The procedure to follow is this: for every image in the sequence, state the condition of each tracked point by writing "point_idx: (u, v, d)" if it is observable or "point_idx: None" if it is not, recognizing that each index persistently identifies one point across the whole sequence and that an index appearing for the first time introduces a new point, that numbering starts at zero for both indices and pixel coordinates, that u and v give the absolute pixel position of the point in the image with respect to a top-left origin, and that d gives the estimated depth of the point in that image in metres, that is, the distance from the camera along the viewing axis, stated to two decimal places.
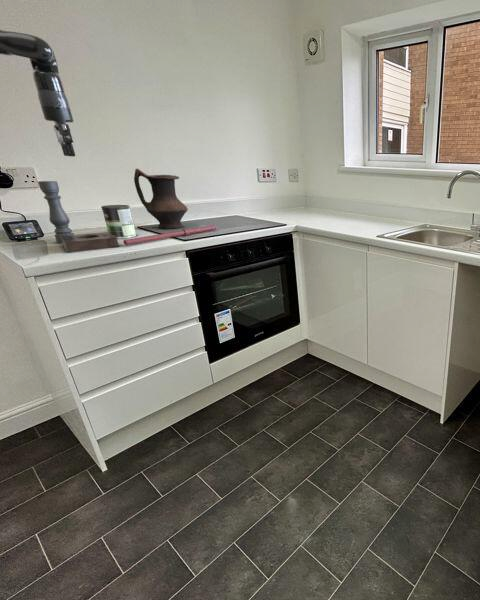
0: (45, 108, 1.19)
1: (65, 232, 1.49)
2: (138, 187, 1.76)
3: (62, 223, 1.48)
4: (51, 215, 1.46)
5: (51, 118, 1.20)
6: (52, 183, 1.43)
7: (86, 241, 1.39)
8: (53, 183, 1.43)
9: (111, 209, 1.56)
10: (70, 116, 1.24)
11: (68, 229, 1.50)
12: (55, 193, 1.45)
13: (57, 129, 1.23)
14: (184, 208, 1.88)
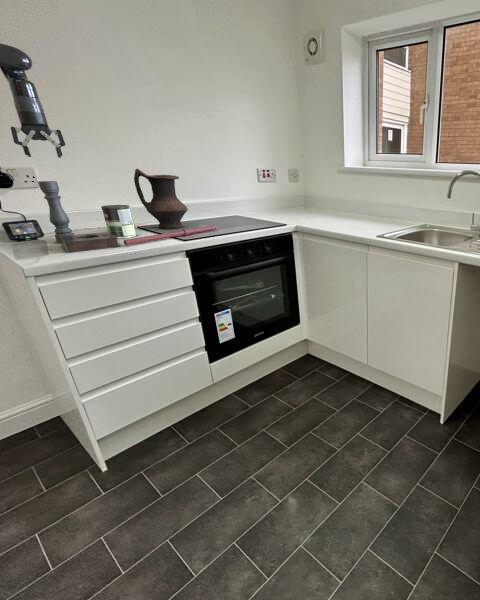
0: None
1: (65, 232, 1.49)
2: (138, 187, 1.76)
3: (62, 223, 1.48)
4: (51, 215, 1.46)
5: None
6: (52, 183, 1.43)
7: (86, 241, 1.39)
8: (53, 183, 1.43)
9: (111, 209, 1.56)
10: (25, 118, 1.30)
11: (68, 229, 1.50)
12: (55, 193, 1.45)
13: None
14: (184, 208, 1.88)
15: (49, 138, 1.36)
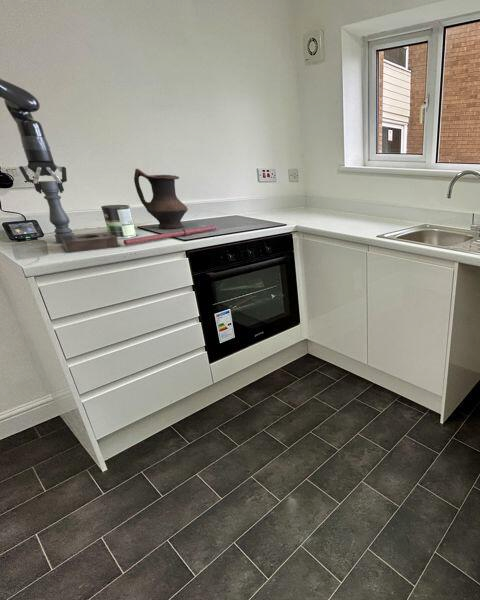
0: None
1: (65, 232, 1.49)
2: (138, 187, 1.76)
3: (62, 223, 1.48)
4: (51, 215, 1.46)
5: None
6: (52, 183, 1.43)
7: (86, 241, 1.39)
8: (53, 183, 1.43)
9: (111, 209, 1.56)
10: (32, 156, 1.36)
11: (68, 229, 1.50)
12: (55, 193, 1.45)
13: None
14: (184, 208, 1.88)
15: (54, 173, 1.43)
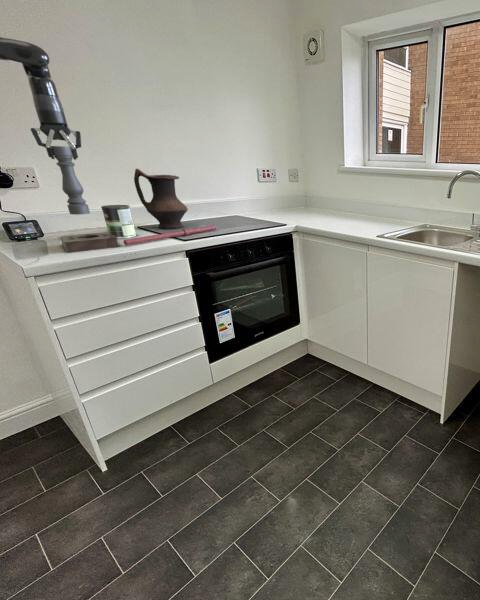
0: None
1: (79, 202, 1.39)
2: (138, 187, 1.76)
3: (76, 192, 1.37)
4: (64, 183, 1.35)
5: None
6: (66, 148, 1.32)
7: (86, 241, 1.39)
8: (67, 148, 1.33)
9: (111, 209, 1.56)
10: (45, 117, 1.26)
11: (82, 199, 1.40)
12: (69, 159, 1.34)
13: None
14: (184, 208, 1.88)
15: (68, 138, 1.33)
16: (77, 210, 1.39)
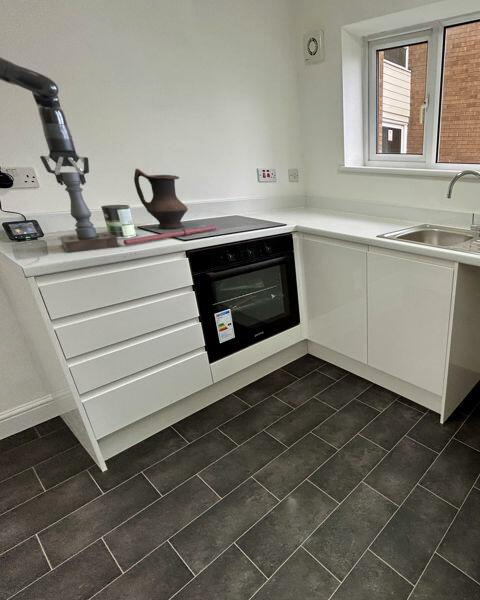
0: None
1: (86, 226, 1.42)
2: (138, 187, 1.76)
3: (84, 216, 1.40)
4: (72, 208, 1.38)
5: None
6: (74, 174, 1.35)
7: (86, 241, 1.39)
8: (75, 174, 1.36)
9: (111, 209, 1.56)
10: (54, 146, 1.29)
11: (89, 223, 1.43)
12: (77, 185, 1.37)
13: None
14: (184, 208, 1.88)
15: (76, 164, 1.36)
16: (85, 234, 1.42)
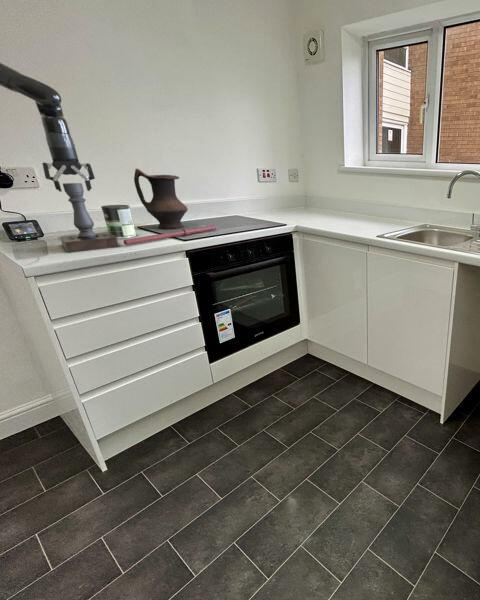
0: None
1: (89, 236, 1.43)
2: (138, 187, 1.76)
3: (87, 226, 1.42)
4: (75, 218, 1.40)
5: None
6: (77, 185, 1.37)
7: (86, 241, 1.39)
8: (78, 185, 1.37)
9: (111, 209, 1.56)
10: (57, 154, 1.30)
11: (92, 233, 1.45)
12: (80, 196, 1.39)
13: None
14: (184, 208, 1.88)
15: (79, 172, 1.37)
16: None
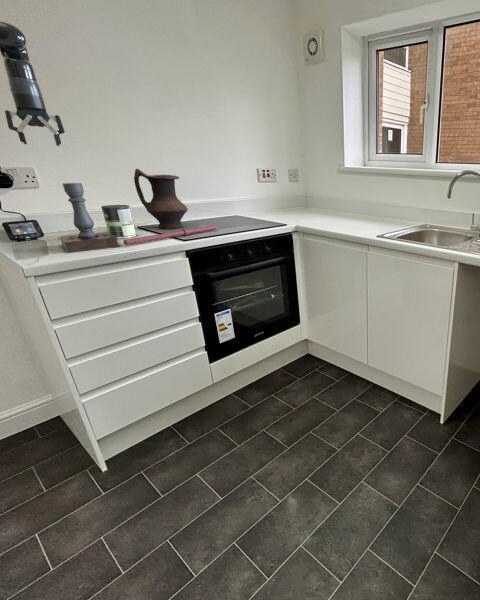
0: None
1: (89, 236, 1.43)
2: (138, 187, 1.76)
3: (87, 226, 1.42)
4: (75, 218, 1.40)
5: None
6: (77, 185, 1.37)
7: (86, 241, 1.39)
8: (78, 185, 1.37)
9: (111, 209, 1.56)
10: (21, 102, 1.19)
11: (92, 233, 1.45)
12: (80, 196, 1.39)
13: None
14: (184, 208, 1.88)
15: (47, 124, 1.26)
16: None
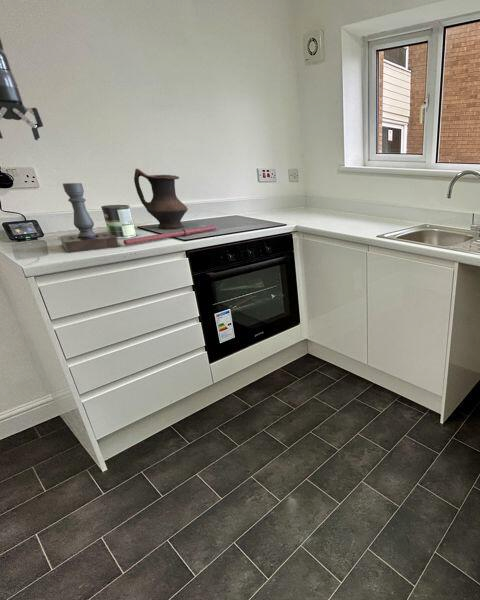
0: None
1: (89, 236, 1.43)
2: (138, 187, 1.76)
3: (87, 226, 1.42)
4: (75, 218, 1.40)
5: None
6: (77, 185, 1.37)
7: (86, 241, 1.39)
8: (78, 185, 1.37)
9: (111, 209, 1.56)
10: None
11: (92, 233, 1.45)
12: (80, 196, 1.39)
13: None
14: (184, 208, 1.88)
15: (24, 117, 1.20)
16: None
